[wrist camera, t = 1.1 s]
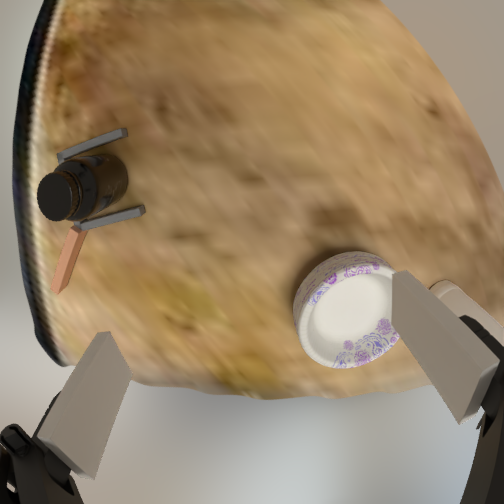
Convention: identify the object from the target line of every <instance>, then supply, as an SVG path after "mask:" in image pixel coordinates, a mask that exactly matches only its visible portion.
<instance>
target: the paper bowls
mask: <svg viewBox="0 0 504 504" xmlns="http://www.w3.org/2000/svg"><path fill="white" fill-rule="evenodd" d="M394 273H397V272H396V271H395V270H394V269H393V268H392V267H391V266H390V265H389V264H388V263H387V262H385V261H384V260H383V259H382V258H380V257H378V256H377V255H375V254H371V253H367V252H361V251H357V252H356V251H354V252H346V253H342V254H338V255H335V256H333V257H330V258H329V259H327V260H325V261H323V262H322V263H320V264H319V265H318V266H316V267H315V269H313V270H312V272H310V273H309V274H308V275H307V276H306V278H305V279H304V280H303V282H302V283H301V285H300V287H299V288H298V291H297V293H296V296H295V299H294V303H293V318H294V323H295V327H296V331H297V334H298V337H299V341H300V343H301V345H302V348H303V349H304V351H305V352H306V353H307V355H308V356H309V357H310V358H312V359H313V360H314V361H316V362H318V363H319V364H322V365H324V366H327V367H332V368H353V367H357V366H361V365H364V364H366V363H368V362H371V361H373V360H375V359H376V358H378V357H380V356H381V355H383V354H384V353H385V352H387V351H388V350H389V349H390V348H391V347H392V346H393V345H394V344H395V343H396V342H397V340H398V339H399V338H400V336H399V334H398V333H397V332H396V330H395V329H394V328H393V326H392V325H391V316H392V274H394Z"/></svg>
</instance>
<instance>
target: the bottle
mask: <svg viewBox="0 0 504 504" xmlns="http://www.w3.org/2000/svg"><path fill="white" fill-rule="evenodd" d="M430 291H431V292H432V293H433V294H434V295H435V296H436V297H437V298H438V299H439V300H441V301H442V302H443V303H444V304H445V305H446V306H447V307H448V308H449V309H450V310H451V311H452V312H453V313H454V314H455V315H456V316H457V317H461V316H463V315H467V316H469V317H471V318H473V319H476V320H477V321H478V322H479V323H480V324H481V325H482V326H483V327H484V329H486V330H487V331H488V332H489V333H490V335H492V336H493V337H494V338H495V339H496V340H497V341H498V342H499V343H500V344H501V345H502V346H503V347H504V327H503V326H502V325H501V324H499V323H498V322H497V321H496V320H495V319H494V318H493V317H492V316H491V315H490V314H488V313H487V312H486V311H485V310H484V309H483V308H482V307H481V306H479V305H478V304H477V303H476V302H475V301H474V300H472V299H471V298H470V297H469V296H468V295H467V294H465V293H464V291H463V290H461V289H460V288H459V287H458V286H457V285H455V284H453V283H452V282H451V281H447V280H443V281H440V282H438V283H436V284H435V285H434V286H432V287H431V288H430Z"/></svg>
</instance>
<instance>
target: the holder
mask: <svg viewBox="0 0 504 504" xmlns="http://www.w3.org/2000/svg"><path fill="white" fill-rule="evenodd" d="M127 136H128V135H127V130H126V129H122V128H120V129H118V130H115V131H112V132H109V133H106V134H104V135H101V136H98V137H96V138H93V139H91V140H88V141H86V142H83V143H81V144H78V145H76V146H73V147H71V148H69V149H67V150H64V151H62V152H60V153H58V154H57V158H58V163H59V165H60V164H61V163H62V162H64V161H66V160H69V159H71V157H73V156H75V155H78V154H80V153H83V152H85V151H88V150H91V149H93V148H96V147H99V146H101V145H104V144H107V143H110V142H112V141H115V140H118V139H121V138H124V137H127ZM144 213H145V209H144V205H141V206H137V207H133V208H130V209H126V210H122V211H118V212H115V213H111V214H107V215H104V216H100V217H97V218H93V219H90V220H86V219H85V220H82V221H78V222H74V226H72V227H71V228H70V229H69V232H68V235H67V238H66V241H65V243H64V246H63V249H62V252H61V255H60V258H59V262H58V265H57V268H56V271H55V275H54V278H53V282H52V285H51V290H52V291H54V292H55V293H56V294H59V293H60V292H61V291H62V290H63V289H64V288H65V287H66V286H67V284H68V281H69V278H70V275H71V273H72V270H73V267H74V264H75V261H76V259H77V256H78V253H79V251H80V248H81V245H82V243H83V240H84V238H85V235H86V233H87V230H89V229H92V228H96V227H100V226H103V225H107V224H111V223H115V222H119V221H123V220H127V219H131V218H135V217H139V216H142V215H143V214H144Z"/></svg>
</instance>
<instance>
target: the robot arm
mask: <svg viewBox="0 0 504 504" xmlns="http://www.w3.org/2000/svg"><path fill="white" fill-rule="evenodd" d="M391 325H392V326H393V328H394V329H395V330H396V332H397V333H398V334H399V336H400V337H401V339H402V340H403V341H404V343H405V344H406V346H407V347H408V348H409V350H410V351H411V353H412V354H413V355H414V357H415V358H416V360H417V361H418V363H419V364H420V366H421V367H422V368H423V370H424V371H425V373H426V374H427V376H428V377H429V379H430V380H431V382H432V383H433V385H434V386H435V388H436V389H437V391H438V392H439V394H440V395H441V397H442V398H443V400H444V402H445V403H446V405H447V406H448V408H449V409H450V411H451V413H452V414H453V416H454V418H455V419H456V421H457V422H458V424H459V425H460V424H462V423H464V422H465V421H467V420H469V419H471V418H472V417H474V416H476V414H477V412H478V410H479V408H480V406H482V408H483V409H484V411H485V412H484V414H483V416H482V418H481V420H480V422H479V423H478V426H477V428H476V429H479V428H480V426H481V429H480V434H479V439H478V444H477V448H476V452H475V457H474V460H473V464H472V468H471V471H470V475H469V478H468V481H467V484H466V488H465V490H464V494H463V496H462V499H461V502H460V504H504V347H503V346H502V345H501V344H500V343H499V342H498V341H497V340H496V339H495V338H494V337H493V336H492V335H490V333H489V332H488V331H487V330H486V329H484V327H483V326H482V325H481V324H480V323H479V322H478V321H477V320H476V319H473V318H471V317H469V316H467V315H463V316H461V317H457V316H456V315H455V314H454V313H453V312H452V311H451V310H450V309H449V308H448V307H447V306H446V305H445V304H444V303H443V302H442V301H441V300H439V299H438V298H437V297H436V296H435V295H434V294H433V293H432V292H431V291H430V290H429V289H427V288H426V287H425V286H424V285H423V284H422V283H421V282H420V281H419V280H417V279H416V278H415V277H414V276H413V275H412V274H411V273H409V272H408V271H407V270H404V271H401V272H397V273H394V274H392V316H391ZM132 375H133V373H132V371H131V370H130V368H129V366H128V364H127V363H126V361H125V359H124V357H123V355H122V354H121V352H120V350H119V348H118V346H117V344H116V342H115V340H114V339H113V337H112V335H111V333H110V331H108V332H100V333H97V334H96V336H95V337H94V339H93V340H92V342H91V343H90V345H89V347H88V348H87V350H86V351H85V353H84V354H83V356H82V358H81V359H80V361H79V362H78V364H77V366H76V367H75V369H74V371H73V372H72V374H71V375H70V377H69V379H68V381H67V382H66V384H65V386H64V387H63V389H62V391H60V392H59V393H58V394H57V395H56V396H55V397H54V398H53V400H52V402H51V404H50V405H49V408H48V409H47V410H46V412H45V415H44V416H43V418H42V420H41V422H40V423H39V425H38V427H37V429H36V431H35V432H34V434H33V437H32V438H30V437H29V436H28V435H27V434H26V432H25V431H24V430H23V429H22V428H21V427H20V426H19V425H18V424H11V425H8V426H7V427H5V429H4V430H3V431H2V432H1V434H0V443H1V444H2V445H3V446H4V447H5V448H6V449H7V450H6V449H5V448H4V447H3V446H2V445H1V444H0V504H84V503H83V501H82V498H81V496H80V494H79V491H78V489H77V486H76V484H75V481H74V479H73V478H72V476H70V475H69V474H70V471H71V470H72V471H74V472H75V473H76V474H77V475H78V476H80V477H82V478H87V479H91V480H94V479H95V476H96V473H97V470H98V467H99V464H100V461H101V458H102V455H103V452H104V449H105V447H106V444H107V441H108V438H109V435H110V432H111V429H112V427H113V424H114V421H115V419H116V416H117V413H118V411H119V407H120V405H121V403H122V400H123V397H124V395H125V392H126V390H127V387H128V385H129V382H130V380H131V377H132ZM7 482H8V483H9V484H11V485H12V486H13V487H14V488H15V492H12V491H11V490H9V489H8V488H7Z"/></svg>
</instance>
